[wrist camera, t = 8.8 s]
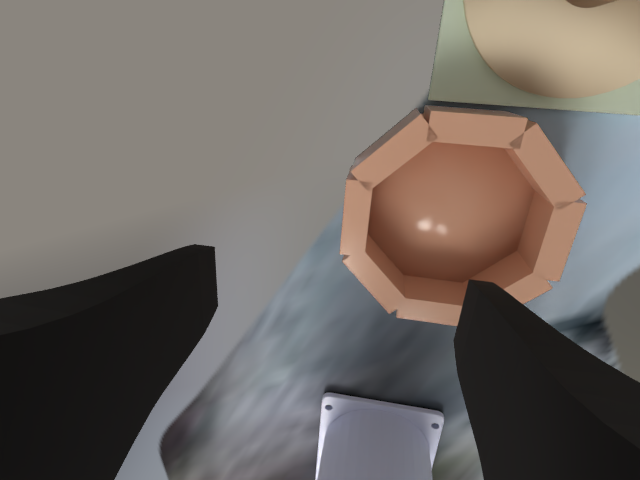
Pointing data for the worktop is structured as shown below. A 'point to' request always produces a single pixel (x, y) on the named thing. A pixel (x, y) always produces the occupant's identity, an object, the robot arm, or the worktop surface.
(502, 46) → the lid
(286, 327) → the worktop surface
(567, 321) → the worktop surface
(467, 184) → the dish
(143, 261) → the robot arm
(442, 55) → the mat
